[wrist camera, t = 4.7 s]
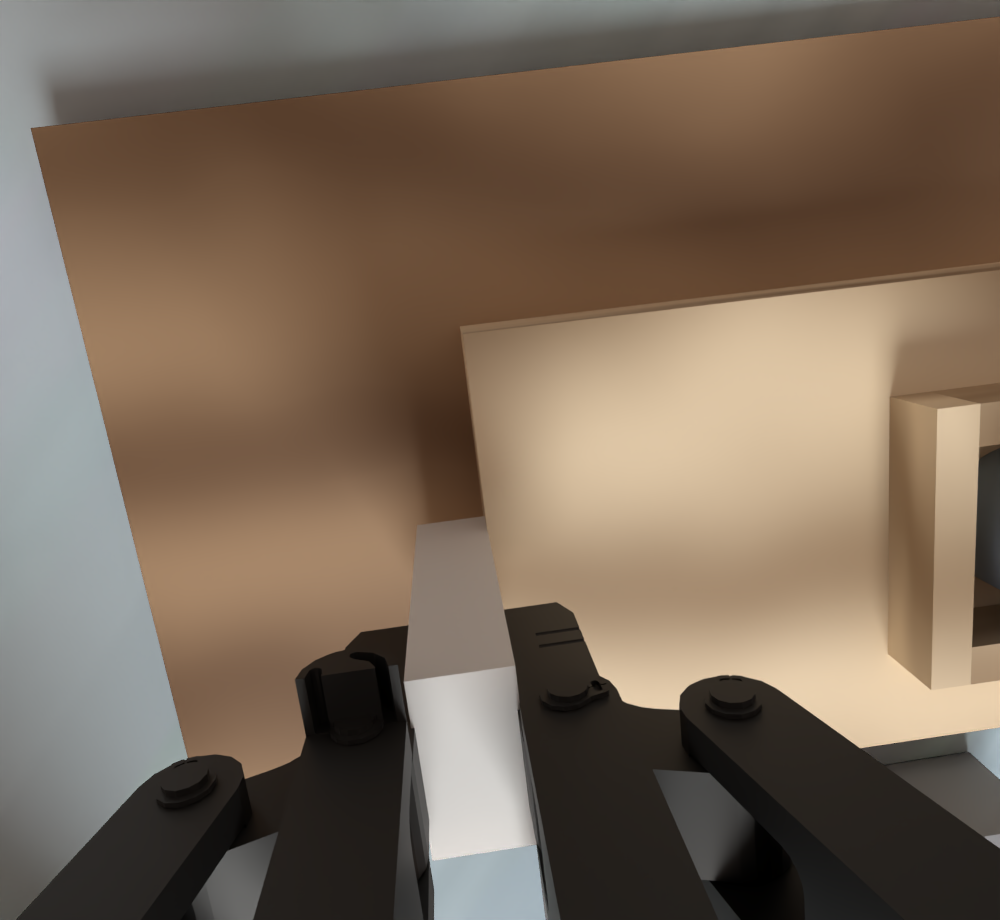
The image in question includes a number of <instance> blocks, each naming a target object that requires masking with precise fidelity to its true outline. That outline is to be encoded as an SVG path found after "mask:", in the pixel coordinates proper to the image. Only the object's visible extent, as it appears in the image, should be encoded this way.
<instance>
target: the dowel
mask: <svg viewBox="0 0 1000 920" xmlns="http://www.w3.org/2000/svg"><path fill="white" fill-rule="evenodd" d="M974 576H975V577H977V578H979V579H981V580H983V581H984V582H986V583H988V584H990V585H992V586H994V587H996V588H997V589H999V590H1000V448H999V449H997V450H994V451H992V452H990V453H988V454H987V455H985V456H984V457H982V458H981V459H979V463H978V491H977V519H976V547H975V575H974Z"/></svg>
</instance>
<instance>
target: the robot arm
mask: <svg viewBox="0 0 1000 920" xmlns="http://www.w3.org/2000/svg"><path fill="white" fill-rule="evenodd" d="M295 684H296V689H297V694H298V699H299V704H300V709H301V714H302V719H303V724H304V729H305V734H306V738H305V741H304V745H303V748H302V752H301V755H300V756H299V757H298V758H296V759H294V760H293V761H291V762H289V763H287V764H284V765H282V766H280V767H277V768H275V769H272V770H269V771H267V772H264V773H261V774H258V775H255V776H252V777H249V778H246V779H245V777H244V772H243V768H242V764H241V763H240V762H239V761H237V760H236V759H234V758H233V757H231V756H224V755H217V754H213V755H205V756H195V757H191V758H187V760H181V761H178V762H176V763H173V764H172V765H171V766H169V767H167V768H165V769H163V770H162V771H160V772H158V773H156V774H154V775H153V776H152V777H151V778H149V779H148V780H147V781H146V782H145V783H143V784H142V785H141V786H140V787H139V788H138V789H137V790H136V791H135V792H134V793H133V794H132V795H131V796H130V797H129V798H128V799H127V801H126V802H125V803H124V804H123V805H122V806H121V807H120V808H119V809H118V810H117V811H116V812H115V813H114V815H113V816H112V817H111V818H110V819H109V820H108V821H107V822H106V823H105V824H104V825H103V826H102V828H101V829H100V830H99V831H98V832H97V833H96V834H95V835H94V836H93V837H92V838H91V839H90V841H89V842H88V843H87V844H86V845H85V846H84V847H83V848H82V849H81V850H80V851H79V852H78V853H77V855H76V856H75V857H74V858H73V859H72V860H71V861H70V862H69V863H68V864H67V865H66V866H65V868H64V869H63V870H62V871H61V872H60V873H59V874H58V875H57V876H56V877H55V878H54V879H53V880H52V882H51V883H50V884H49V885H48V886H47V887H46V888H45V889H44V890H43V891H42V892H41V893H40V895H39V896H38V897H37V898H36V899H35V900H34V901H33V902H32V903H31V904H30V905H29V906H28V907H27V909H26V910H25V911H24V912H23V913H22V914H21V915H20V916H19V917H18V918H17V919H16V920H434V886H433V880H432V874H431V868H430V862H429V842H430V848H431V854H432V860H433V861H434V860H441V859H447V858H453V857H460V856H466V855H472V854H479V853H486V852H493V851H499V850H505V849H512V848H518V847H524V846H530V845H537V852H538V860H539V868H540V877H541V885H542V893H543V901H544V909H545V917H546V920H1000V848H999V847H997V846H996V845H994V844H993V843H992V842H990V841H989V840H987V839H986V838H985V837H983V836H982V835H980V834H979V833H978V832H976V831H975V830H973V829H972V828H971V827H969V826H968V825H966V824H965V823H964V822H962V821H961V820H959V819H958V818H957V817H955V816H954V815H953V814H951V813H950V812H948V811H947V810H946V809H944V808H943V807H941V806H940V805H939V804H937V803H936V802H934V801H933V800H932V799H930V798H929V797H927V796H926V795H925V794H923V793H922V792H920V791H919V790H918V789H916V788H915V787H913V786H912V785H911V784H909V783H908V782H906V781H905V780H904V779H902V778H901V777H900V776H898V775H897V774H895V773H894V772H893V771H891V770H890V769H888V768H887V767H886V766H884V765H883V764H881V763H880V762H879V761H877V760H876V759H874V758H873V757H872V756H870V755H869V754H867V753H866V752H865V751H863V750H862V749H860V748H859V747H858V746H856V745H855V744H854V743H852V742H851V741H849V740H848V739H847V738H845V737H844V736H842V735H841V734H840V733H838V732H837V731H835V730H834V729H833V728H831V727H830V726H828V725H827V724H826V723H824V722H823V721H821V720H820V719H819V718H817V717H816V716H814V715H813V714H812V713H810V712H809V711H807V710H806V709H805V708H803V707H802V706H801V705H799V704H798V703H796V702H795V701H794V700H792V699H791V698H789V697H788V696H787V695H785V694H784V693H782V692H781V691H780V690H778V689H777V688H775V687H773V686H771V685H769V684H767V683H765V682H763V681H760V680H756V679H752V678H747V677H744V676H738V675H732V676H729V675H719V676H717V677H711V678H705V679H702V680H700V681H697V682H695V683H693V684H691V685H689V686H688V687H687V688H686V689H685V690H684V691H683V692H682V693H681V695H680V702H679V710H672V709H654V708H645V707H639V706H636V705H632V704H628V703H626V702H624V701H622V699H621V697H620V694H619V692H618V690H617V689H616V687H615V686H614V685H613V684H612V683H611V682H610V681H609V680H607V679H605V678H603V677H601V676H599V673H598V671H597V669H596V666H595V664H594V661H593V659H592V657H591V654H590V652H589V649H588V647H587V644H586V642H585V641H584V637H583V635H582V632H581V630H580V629H579V625H578V623H577V620H576V618H575V615H574V613H573V612H572V611H570V610H568V609H567V608H565V607H564V606H562V605H561V604H559V603H557V602H554V603H547V604H540V605H533V606H526V607H519V608H512V609H504V608H503V603H502V598H501V593H500V589H499V584H498V579H497V574H496V569H495V564H494V559H493V554H492V550H491V545H490V540H489V535H488V532H487V527H486V522H485V516H482V517H474V518H467V519H459V520H452V521H444V522H437V523H430V524H422V525H417V532H416V544H415V556H414V567H413V579H412V591H411V603H410V614H409V625H407V626H400V627H393V628H386V629H379V630H372V631H364V632H360V633H359V634H358V635H357V636H356V637H355V638H354V639H353V640H352V641H351V642H350V643H349V644H348V645H347V646H346V647H345V650H342V651H338V652H334V653H331V654H329V655H326V656H324V657H321V658H319V659H317V660H315V661H313V662H312V663H310V664H309V665H308V666H306V667H305V668H303V669H302V670H301V671H300V673H299V674H298V676H297V677H296V678H295Z"/></svg>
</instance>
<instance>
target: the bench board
mask: <svg viewBox="0 0 1000 920" xmlns="http://www.w3.org/2000/svg"><path fill="white" fill-rule="evenodd" d="M31 131H32V135H33V139H34V143H35V147H36V151H37V155H38V159H39V163H40V167H41V171H42V175H43V179H44V183H45V187H46V191H47V195H48V199H49V203H50V207H51V211H52V215H53V219H54V223H55V227H56V231H57V235H58V239H59V243H60V247H61V251H62V255H63V259H64V263H65V267H66V271H67V275H68V279H69V283H70V287H71V291H72V295H73V299H74V303H75V307H76V311H77V315H78V319H79V323H80V327H81V331H82V335H83V339H84V343H85V347H86V351H87V355H88V359H89V363H90V367H91V371H92V376H93V380H94V384H95V388H96V392H97V396H98V400H99V404H100V408H101V412H102V416H103V420H104V424H105V428H106V432H107V436H108V440H109V444H110V448H111V452H112V456H113V460H114V464H115V468H116V472H117V476H118V480H119V484H120V488H121V492H122V496H123V500H124V504H125V508H126V512H127V516H128V520H129V524H130V528H131V532H132V536H133V540H134V544H135V548H136V552H137V556H138V560H139V564H140V568H141V572H142V576H143V580H144V584H145V588H146V592H147V596H148V600H149V604H150V608H151V612H152V616H153V620H154V624H155V628H156V632H157V636H158V640H159V644H160V648H161V652H162V656H163V660H164V664H165V668H166V672H167V676H168V680H169V684H170V688H171V692H172V696H173V700H174V704H175V708H176V712H177V716H178V720H179V724H180V728H181V732H182V736H183V740H184V744H185V748H186V752H187V756H188V758H191V757H195V756H205V755H213V754H217V755H224V756H231V757H233V758H234V759H236V760H237V761H239V762H240V763H241V764H242V768H243V772H244V777H245V779H246V778H249V777H252V776H255V775H258V774H261V773H264V772H267V771H269V770H272V769H275V768H277V767H280V766H282V765H284V764H287V763H289V762H291V761H293V760H294V759H296V758H298V757H299V756H300V755H301V752H302V748H303V745H304V741H305V738H306V734H305V729H304V724H303V719H302V714H301V709H300V704H299V699H298V694H297V689H296V684H295V678H296V677H297V676H298V674H299V673H300V671H301V670H302V669H303V668H305V667H306V666H308V665H309V664H310V663H312V662H313V661H315V660H317V659H319V658H321V657H324V656H326V655H329V654H331V653H334V652H338V651H342V650H345V647H346V646H347V645H348V644H349V643H350V642H351V641H352V640H353V639H354V638H355V637H356V636H357V635H358V634H359V633H360V632H364V631H372V630H379V629H386V628H393V627H400V626H407V625H409V614H410V603H411V591H412V579H413V567H414V556H415V544H416V532H417V525H422V524H430V523H437V522H444V521H452V520H459V519H467V518H474V517H482V516H483V510H482V501H481V493H480V485H479V477H478V469H477V461H476V453H475V445H474V437H473V429H472V421H471V413H470V404H469V396H468V388H467V380H466V372H465V364H464V356H463V348H462V340H461V332H460V326H467V325H475V324H484V323H492V322H501V321H509V320H517V319H526V318H534V317H542V316H551V315H559V314H568V313H576V312H584V311H593V310H601V309H610V308H618V307H626V306H635V305H643V304H652V303H660V302H668V301H677V300H685V299H693V298H702V297H710V296H719V295H727V294H735V293H744V292H752V291H761V290H769V289H777V288H786V287H794V286H803V285H811V284H819V283H828V282H836V281H844V280H853V279H861V278H870V277H878V276H886V275H895V274H903V273H912V272H920V271H928V270H937V269H945V268H954V267H962V266H970V265H979V264H987V263H996V262H1000V17H992V18H983V19H975V20H966V21H957V22H949V23H940V24H931V25H923V26H914V27H905V28H896V29H888V30H879V31H870V32H862V33H853V34H844V35H836V36H827V37H818V38H810V39H801V40H792V41H784V42H775V43H766V44H758V45H749V46H740V47H732V48H723V49H714V50H706V51H697V52H688V53H680V54H671V55H662V56H653V57H645V58H636V59H627V60H619V61H610V62H601V63H593V64H584V65H575V66H567V67H558V68H549V69H541V70H532V71H523V72H515V73H506V74H497V75H489V76H480V77H471V78H463V79H454V80H445V81H437V82H428V83H419V84H410V85H402V86H393V87H384V88H376V89H367V90H358V91H350V92H341V93H332V94H324V95H315V96H306V97H298V98H289V99H280V100H272V101H263V102H254V103H246V104H237V105H228V106H220V107H211V108H202V109H194V110H185V111H176V112H167V113H159V114H150V115H141V116H133V117H124V118H115V119H107V120H98V121H89V122H81V123H72V124H63V125H55V126H46V127H37V128H31Z"/></svg>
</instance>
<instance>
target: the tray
mask: <svg viewBox="0 0 1000 920" xmlns="http://www.w3.org/2000/svg"><path fill="white" fill-rule="evenodd" d="M884 766H886V767H887V768H888V769H890V770H891V771H893V772H894V773H895V774H897V775H898V776H900V777H901V778H902V779H904V780H905V781H906V782H908V783H909V784H911V785H912V786H913V787H915V788H916V789H918V790H919V791H920V792H922V793H923V794H925V795H926V796H927V797H929V798H930V799H932V800H933V801H934V802H936V803H937V804H939V805H940V806H941V807H943V808H944V809H946V810H947V811H948V812H950V813H951V814H953V815H954V816H955V817H957V818H958V819H959V820H961V821H962V822H964V823H965V824H966V825H968V826H969V827H971V828H972V829H973V830H975V831H976V832H978V833H979V834H980V835H982V836H983V837H985V838H986V839H987V840H989V841H990V842H992V843H993V844H994V845H996V846H997V847H999V848H1000V779H998V778H997V777H996V776H995V775H994V774H993V773H992V772H991V771H990V770H988V769H987V768H986V767H985V766H984V765H983V764H982V763H981V762H979V761H978V760H977V759H976V758H975V757H974V756H973V755H972V754H970V753H969V752H966V753H960V754H953V755H947V756H941V757H935V758H928V759H922V760H916V761H909V762H903V763H897V764H891V765H884Z"/></svg>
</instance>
